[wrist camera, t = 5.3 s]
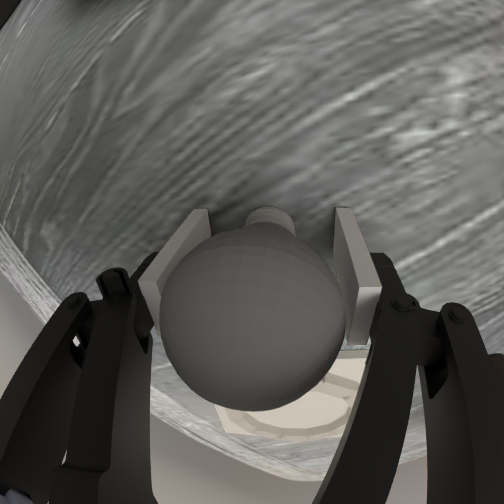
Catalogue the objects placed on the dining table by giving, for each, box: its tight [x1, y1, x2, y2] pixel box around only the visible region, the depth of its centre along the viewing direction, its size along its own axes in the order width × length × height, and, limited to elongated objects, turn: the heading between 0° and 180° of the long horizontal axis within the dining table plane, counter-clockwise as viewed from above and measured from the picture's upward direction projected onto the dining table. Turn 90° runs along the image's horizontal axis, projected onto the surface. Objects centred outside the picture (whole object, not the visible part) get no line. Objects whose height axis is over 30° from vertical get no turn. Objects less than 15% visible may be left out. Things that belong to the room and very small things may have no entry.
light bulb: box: [159, 207, 346, 412], centre depth 11 cm, size 6×6×10 cm
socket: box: [214, 350, 369, 441], centre depth 23 cm, size 16×16×2 cm
